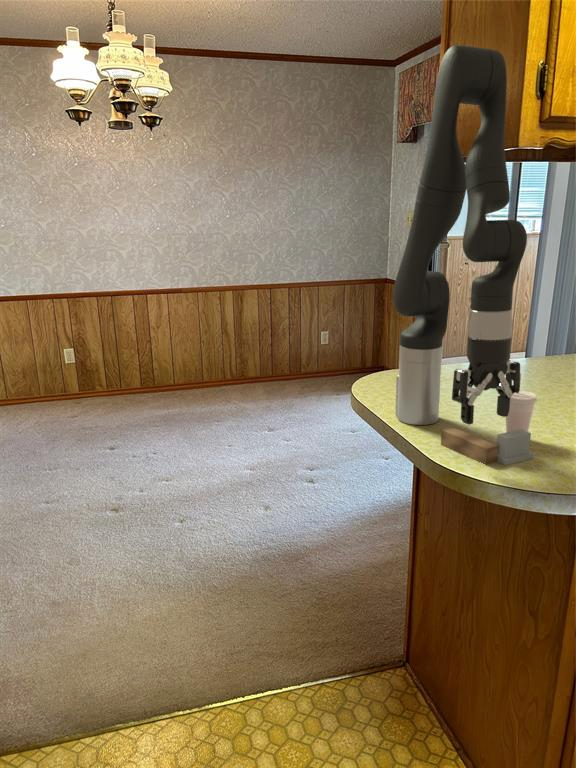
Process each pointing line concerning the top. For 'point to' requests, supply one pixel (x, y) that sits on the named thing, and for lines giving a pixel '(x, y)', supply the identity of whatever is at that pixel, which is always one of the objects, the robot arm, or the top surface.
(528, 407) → the smoothie
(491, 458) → the walnut bar
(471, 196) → the robot arm
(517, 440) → the block
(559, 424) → the top surface
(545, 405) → the top surface
